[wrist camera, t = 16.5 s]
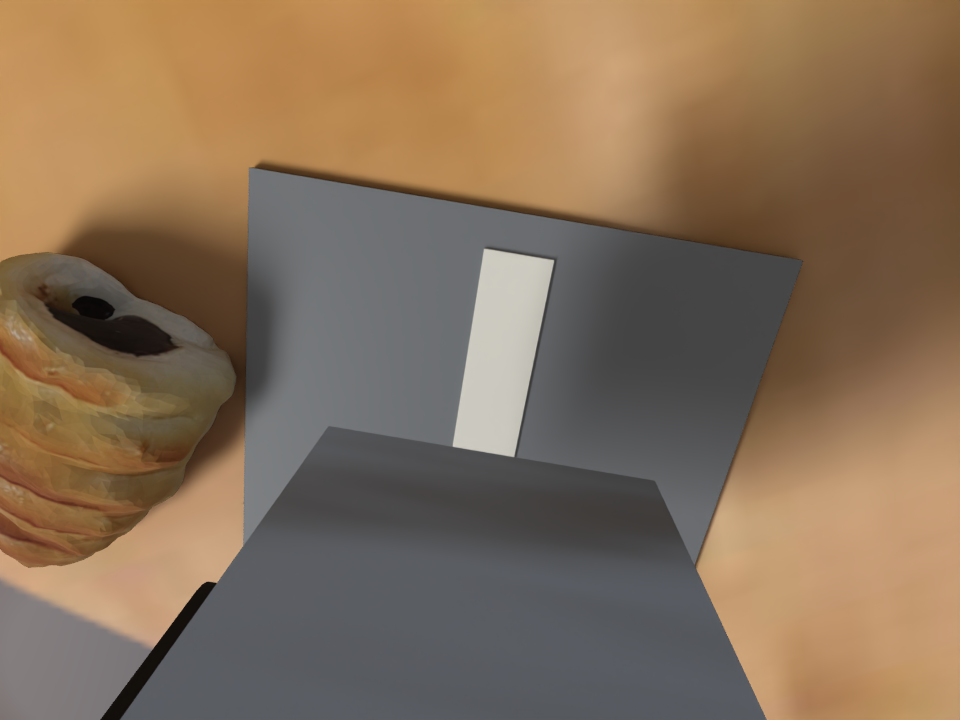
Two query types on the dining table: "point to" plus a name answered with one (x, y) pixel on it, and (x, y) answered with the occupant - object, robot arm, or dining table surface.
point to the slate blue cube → (454, 600)
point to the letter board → (499, 338)
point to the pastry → (93, 406)
